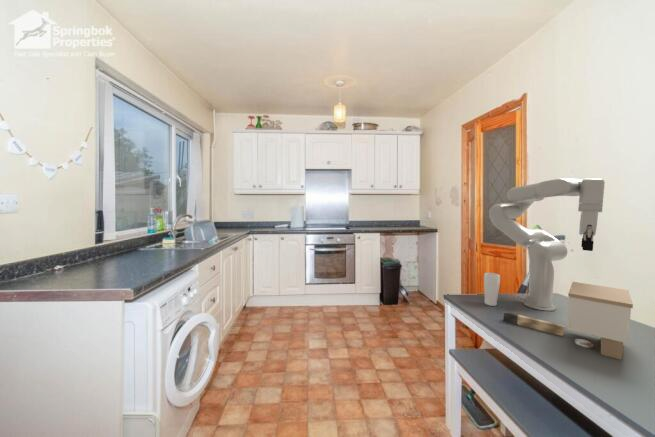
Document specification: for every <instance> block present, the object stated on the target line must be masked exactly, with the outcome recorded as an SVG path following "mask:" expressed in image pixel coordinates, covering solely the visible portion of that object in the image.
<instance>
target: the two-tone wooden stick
mask: <svg viewBox="0 0 655 437" xmlns="http://www.w3.org/2000/svg"><path fill="white" fill-rule="evenodd" d="M502 321H503V322H505V321H506V323H509V322H510V324H513V323H514V325H517V324H518V326H521V327H526V328H530V329H534V330H537V331H542V332H546V333H550V334H554V335H558V336H561V337H564V334H565V325H564V324H560V323H555V322H551V321H547V320H543V319H538V318H534V317H530V316H525V315H521V314H517V313H513V312H509V311H504V312H503V319H502Z"/></svg>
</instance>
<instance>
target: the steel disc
mask: <svg viewBox="0 0 655 437" xmlns="http://www.w3.org/2000/svg"><path fill="white" fill-rule="evenodd" d="M574 344H576V345H577V346H578V345H579V347H581V348H585V349H593V348H594V344H593V342H591V341H589V340H586V339H582V338H575V339H574Z"/></svg>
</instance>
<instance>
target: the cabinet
mask: <svg viewBox="0 0 655 437" xmlns="http://www.w3.org/2000/svg"><path fill="white" fill-rule="evenodd" d="M567 297H569V299H568V313H567V327H566V329H567V330H570V331H573V332H578V333H581V334H582V333H583V334H586V335H591V336H595V337H599V338H600V355H602V356H606V357H610V358H613V359H617V360H623V349H624V347H623V346H624V343H625V344H629V336H630V326H631V325H630V324H631V313H632V309H633V307H634V304H633V300H632V298H631V294H630V291H629V289H623V288H616V287H611V286H610V287H609V286H604V285H598V284H597V285H596V284H590V283H584V282H578V281H572V283H571V286H570V288H569V291H568V296H567Z"/></svg>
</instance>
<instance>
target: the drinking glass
mask: <svg viewBox="0 0 655 437" xmlns="http://www.w3.org/2000/svg"><path fill="white" fill-rule="evenodd" d="M483 275H484V276H483V287H484V288H483V289H484V290H483V293H484V294H483V295H484V305H486V306H490V307H491V306H492V307H496V306H497V304H498V296H499V291H500V290H499V289H500V282H501V275H500V274H499V273H495V272H485V273H484V274H483Z"/></svg>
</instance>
